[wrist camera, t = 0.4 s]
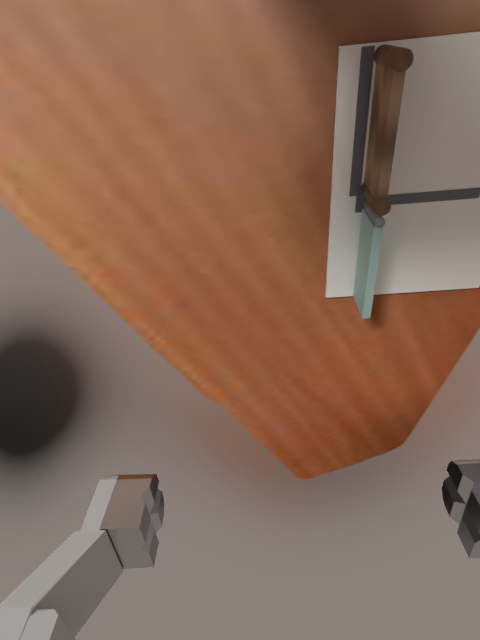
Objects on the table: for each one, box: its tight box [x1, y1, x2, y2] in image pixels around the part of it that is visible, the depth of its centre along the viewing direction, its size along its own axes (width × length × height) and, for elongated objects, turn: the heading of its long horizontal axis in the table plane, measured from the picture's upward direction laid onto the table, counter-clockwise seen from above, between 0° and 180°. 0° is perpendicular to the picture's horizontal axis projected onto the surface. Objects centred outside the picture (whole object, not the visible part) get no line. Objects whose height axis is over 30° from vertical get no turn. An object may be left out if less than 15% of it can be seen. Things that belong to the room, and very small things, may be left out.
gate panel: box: [353, 199, 385, 318], centre depth 46 cm, size 13×1×6 cm, turn 5°
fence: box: [361, 44, 413, 216], centre depth 38 cm, size 14×2×6 cm, turn 5°
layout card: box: [325, 32, 480, 298], centre depth 44 cm, size 28×20×1 cm
